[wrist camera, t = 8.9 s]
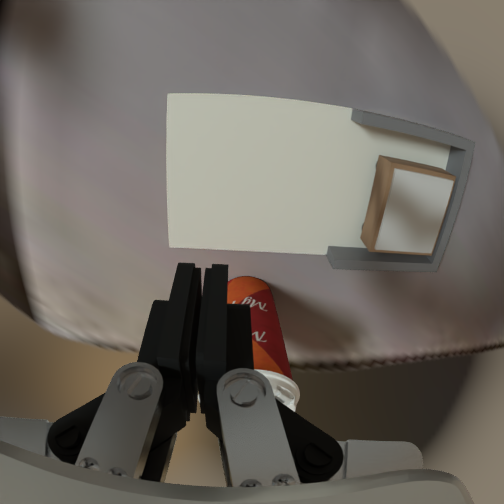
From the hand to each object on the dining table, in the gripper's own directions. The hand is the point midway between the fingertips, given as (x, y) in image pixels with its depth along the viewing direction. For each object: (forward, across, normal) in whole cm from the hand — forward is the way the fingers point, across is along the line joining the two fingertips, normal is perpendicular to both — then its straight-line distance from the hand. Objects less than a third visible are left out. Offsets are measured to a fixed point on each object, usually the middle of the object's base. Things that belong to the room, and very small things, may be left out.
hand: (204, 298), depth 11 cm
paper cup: (+17, -3, +14) cm, 23 cm away
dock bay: (+17, -9, +2) cm, 20 cm away
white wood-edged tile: (+17, -16, +2) cm, 24 cm away
